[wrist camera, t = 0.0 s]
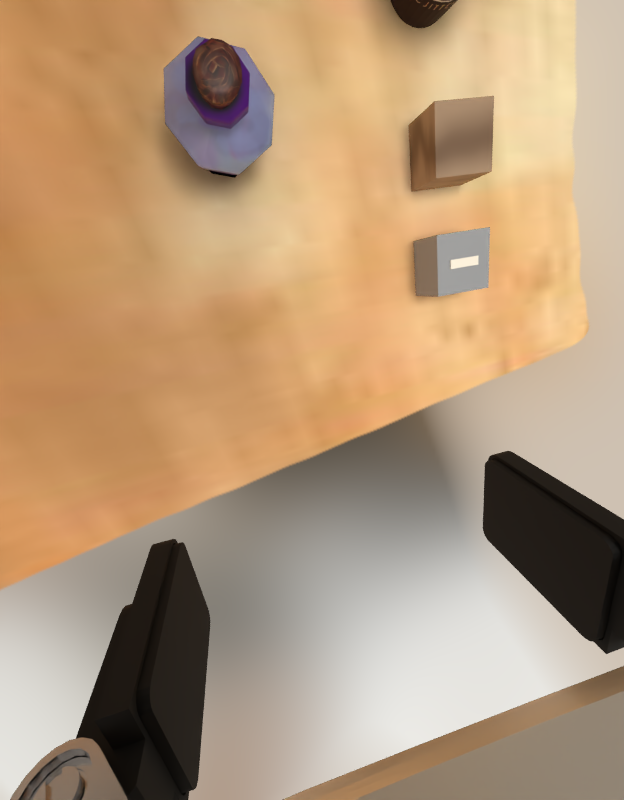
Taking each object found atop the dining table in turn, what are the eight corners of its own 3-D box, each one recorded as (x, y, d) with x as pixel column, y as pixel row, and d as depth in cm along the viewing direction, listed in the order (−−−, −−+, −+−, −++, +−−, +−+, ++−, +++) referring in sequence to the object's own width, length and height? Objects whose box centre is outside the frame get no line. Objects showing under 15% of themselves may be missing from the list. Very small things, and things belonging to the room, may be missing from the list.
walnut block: (408, 125, 35) (434, 101, 30) (460, 120, 36) (493, 95, 31) (411, 191, 37) (436, 178, 32) (460, 185, 38) (491, 171, 33)
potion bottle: (198, 63, 30) (175, -68, 19) (284, 127, 33) (309, 45, 22) (160, 161, 32) (119, 93, 20) (246, 213, 34) (250, 179, 23)
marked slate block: (413, 241, 39) (437, 235, 34) (461, 233, 40) (492, 226, 35) (415, 295, 41) (439, 296, 36) (461, 287, 42) (491, 287, 37)
